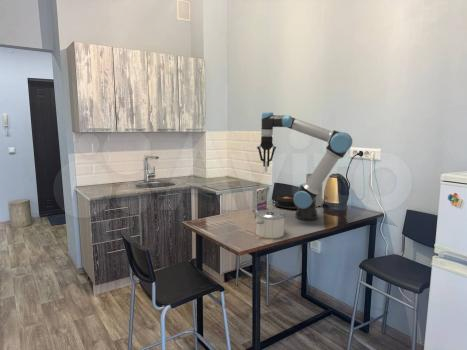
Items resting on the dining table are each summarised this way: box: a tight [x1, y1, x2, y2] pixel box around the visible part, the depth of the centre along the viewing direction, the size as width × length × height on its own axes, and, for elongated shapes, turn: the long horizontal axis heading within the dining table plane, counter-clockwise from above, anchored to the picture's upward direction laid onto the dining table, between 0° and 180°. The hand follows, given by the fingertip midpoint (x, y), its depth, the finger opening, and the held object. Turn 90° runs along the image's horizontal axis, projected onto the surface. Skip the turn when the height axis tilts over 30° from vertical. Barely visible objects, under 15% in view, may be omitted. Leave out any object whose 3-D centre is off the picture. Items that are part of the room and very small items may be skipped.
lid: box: [253, 209, 286, 220], centre depth 197 cm, size 18×17×2 cm
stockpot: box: [254, 213, 285, 239], centre depth 198 cm, size 17×23×11 cm
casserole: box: [272, 194, 298, 210], centre depth 262 cm, size 25×19×8 cm
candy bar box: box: [252, 187, 268, 212], centre depth 250 cm, size 11×5×16 cm, turn 138°
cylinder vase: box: [305, 173, 323, 208], centre depth 265 cm, size 12×12×25 cm
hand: (266, 171), depth 226 cm, fingers closed
